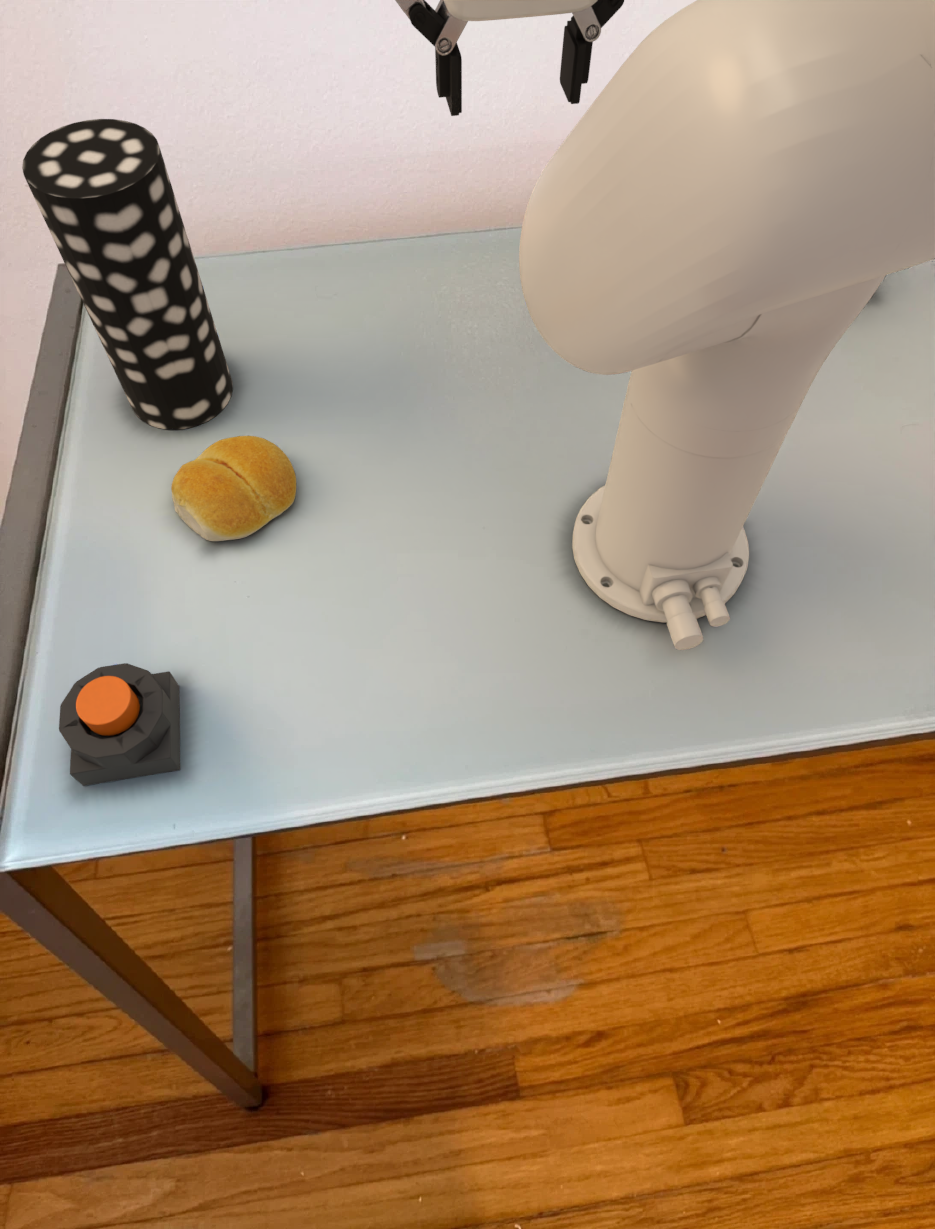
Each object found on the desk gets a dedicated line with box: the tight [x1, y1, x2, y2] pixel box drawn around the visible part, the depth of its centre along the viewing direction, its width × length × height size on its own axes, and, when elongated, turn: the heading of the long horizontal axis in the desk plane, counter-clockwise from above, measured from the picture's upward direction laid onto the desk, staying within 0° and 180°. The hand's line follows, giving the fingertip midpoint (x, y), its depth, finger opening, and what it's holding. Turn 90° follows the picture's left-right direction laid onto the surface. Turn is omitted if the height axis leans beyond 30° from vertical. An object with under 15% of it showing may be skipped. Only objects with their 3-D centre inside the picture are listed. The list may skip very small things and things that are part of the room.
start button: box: [76, 676, 140, 736], centre depth 52 cm, size 3×3×2 cm
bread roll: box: [170, 435, 297, 542], centre depth 64 cm, size 8×9×4 cm
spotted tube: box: [21, 118, 234, 431], centre depth 62 cm, size 8×8×20 cm
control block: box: [58, 662, 181, 787], centre depth 54 cm, size 6×6×4 cm
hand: (511, 98), depth 61 cm, fingers open, 7 cm apart
